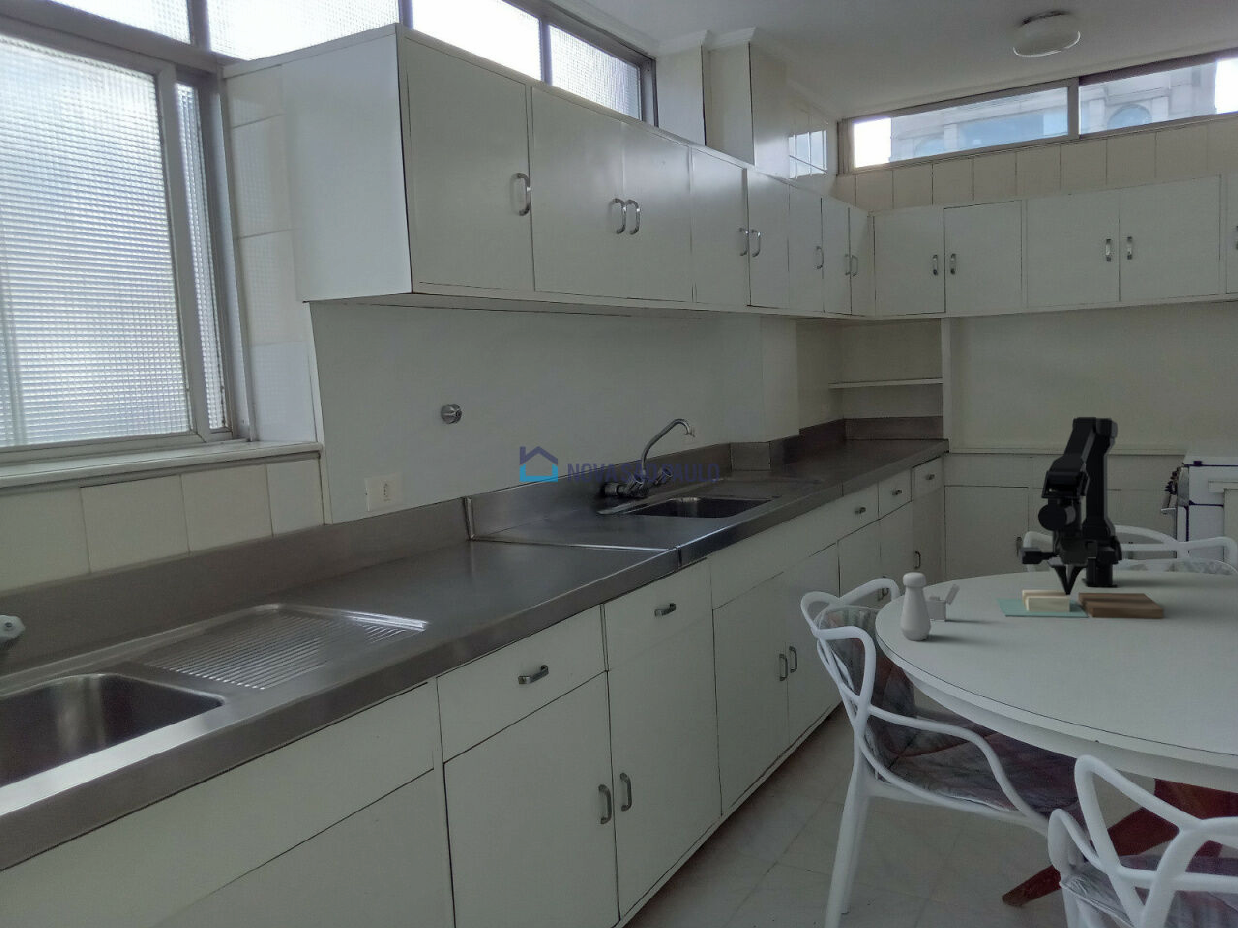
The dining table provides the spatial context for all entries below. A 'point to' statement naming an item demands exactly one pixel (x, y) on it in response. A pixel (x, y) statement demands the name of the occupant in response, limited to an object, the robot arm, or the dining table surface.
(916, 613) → the salt shaker
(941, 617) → the lighter
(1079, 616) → the rubber mat
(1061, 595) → the birch tile
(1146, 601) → the walnut board
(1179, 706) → the dining table surface
